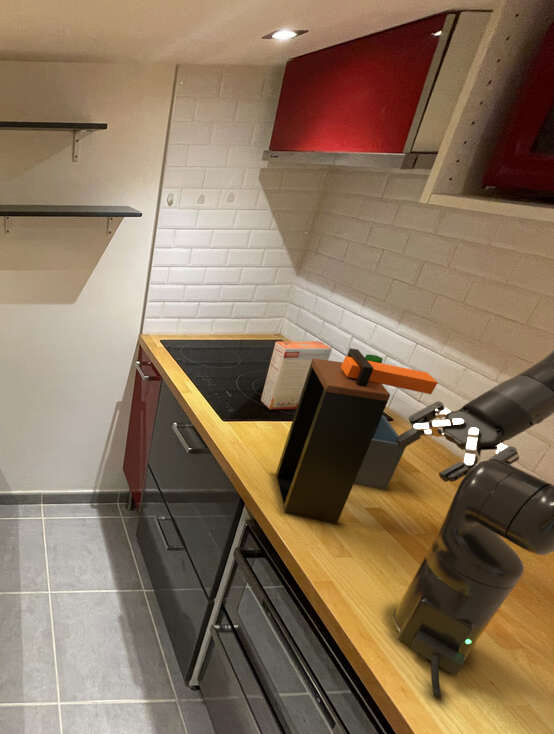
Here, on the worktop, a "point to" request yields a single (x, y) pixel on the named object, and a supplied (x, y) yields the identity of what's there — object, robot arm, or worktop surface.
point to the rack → (329, 438)
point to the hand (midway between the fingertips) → (419, 460)
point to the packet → (393, 376)
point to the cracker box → (290, 372)
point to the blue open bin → (380, 457)
